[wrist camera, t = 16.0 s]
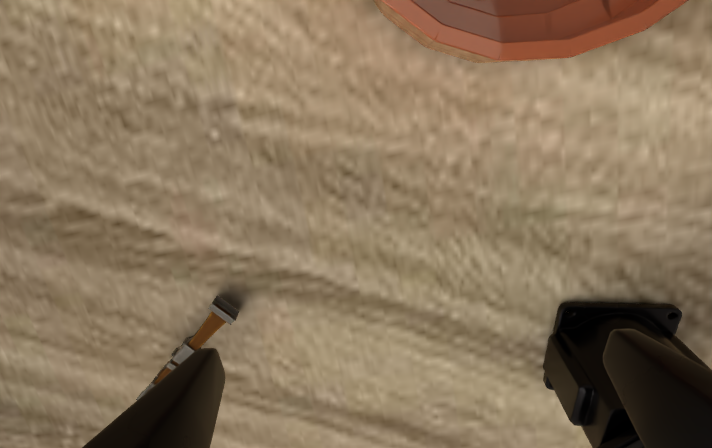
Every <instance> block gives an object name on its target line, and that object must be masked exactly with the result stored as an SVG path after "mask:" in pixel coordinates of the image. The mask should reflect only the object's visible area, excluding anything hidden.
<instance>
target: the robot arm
mask: <svg viewBox="0 0 712 448" xmlns="http://www.w3.org/2000/svg"><path fill="white" fill-rule="evenodd" d="M568 310H571V311H570V312H568V313H566V311H568ZM671 312H672V313H671ZM669 313H671V314H669ZM668 314H669V315H668ZM681 317H682V312H681V310H679V309H678V308H677V307H676V306H674V305H671V304H629V303H579V302H567V303H563V304H561V305H560V306H559V308H558V311H557V316H556V321H555V326H554V330H553V334H552V335H551V336H550V337H549V340H548V345H547V350H546V355H545V360H544V365H543V368H544V370H545V373H544V378H543V381H544V383H545V385H546V387H547V388H548V389H551V390H555V392H556V394H557V396H558V398H559V400H560V402H561V404H562V406H563V408H564V410H565V412H566V414H567V416H568V418H569V420H570V421H571V422H572V423H573V424H574V425H577V426H581V427H582V428H583V430H584V432H585V434H586V436H587V438H588V440H589V442H590V444H591V446H592V447H593V448H712V370H711V369H710V368H709V367H708V366H707V365H706V364H705V363H704V362H703V361H702V360H701V359H699V358H698V357H697V356H696V355H695V354H694V353H693V352H692V351H691V350H690V349H689V348H688V347H687V346H686V345H685V344H684V343H683V342H681V341H680V340H679V339H678V338H677V337H676V336H675V333H676V330H677V328H678V325H679V322H680V320H681ZM224 384H225V371H224V368H223V365H222V362H221V359H220V356H219V353H218V351H217V350H216V349H215V348H203V349H198V350H196V351H195V352H193V353H192V354H191V355H190V356H189V357H187V358H186V359H185V360H184V361H183V362H182V363H180V364H179V365H178V366H177V367H176V368H175V369H173V370H172V371H171V372H170V373H169V374H168V375H166V376H165V377H164V378H163V379H162V380H161V381H159V382H158V383H157V384H156V385H155V386H154V387H152V388H151V389H150V390H149V391H148V392H147V393H145V394H144V395H143V396H142V397H141V398H140V399H138V400H137V401H136V402H135V403H134V404H133V405H131V406H130V407H129V408H128V409H127V410H126V411H124V412H123V413H122V414H121V415H120V416H119V417H117V418H116V419H115V420H114V421H113V422H112V423H110V424H109V425H108V426H107V427H106V428H105V429H103V430H102V431H101V432H100V433H99V434H98V435H96V436H95V437H94V438H93V439H92V440H91V441H89V442H88V443H87V444H86V445H85V446H84V447H82V448H210V444H211V440H212V436H213V432H214V428H215V423H216V419H217V414H218V410H219V406H220V401H221V397H222V393H223V388H224Z"/></svg>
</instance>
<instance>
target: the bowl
mask: <svg viewBox="0 0 712 448" xmlns="http://www.w3.org/2000/svg"><path fill="white" fill-rule="evenodd" d="M373 1H374V3H375V4H376V6H377V7H378V9H379V10H380V12H381V13H383V15H384V16H385V17H386V18H388V19H389V20H390V21H392V22H393V23H394V24H395V25H397V26H398V27H399V28H401V29H402V30H403V31H405V32H406V33H407V34H409V35H410V36H411V37H413V38H414V39H415V40H417V41H418V42H419V43H420V44H422V45H423V46H424V47H427V48H429V49H432V50H435V51H439V52H442V53H445V54H448V55H452V56H455V57H458V58H462V59H465V60H468V61H471V62H475V63H489V62H510V61H531V60H545V59H559V58H569V57H573V56H576V55H579V54H581V53H584V52H587V51H590V50H592V49H595V48H598V47H601V46H603V45H606V44H609V43H612V42H614V41H617V40H620V39H623V38H625V37H628V36H631V35H634V34H636V33H639V32H642V31H644V30H646V29H648V28H649V27H651V26H652V25H654V24H655V23H656V22H658V21H659V20H661V19H662V18H664V17H665V16H667V15H668V14H669V13H671V12H672V11H674V10H675V9H677V8H678V7H680V6H681V5H683V4H684V3H685V2H687V1H688V0H373Z"/></svg>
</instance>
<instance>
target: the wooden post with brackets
mask: <svg viewBox="0 0 712 448" xmlns="http://www.w3.org/2000/svg"><path fill="white" fill-rule="evenodd" d="M209 309H210V310H211V311H212V312H211V313H210V315H209V316H208V318H207V319H206V321H205V322H204V323H203V325H202V326H201V328H200V329H199V331H198V332H197V333H196V334H195V336H194V337H191V338H190V339H188V338H186V340H185V341H184V342H183V345H182V346H181V347H180V348H179V349H178V348H176V350H175V351H174V352H173V354H172V356H173V358H172V359H171V360H170V361H168V363H167V364H166V365H165V366H164V367H163V368H162V369H161V370H160V372H159V373H158V374H157V376H158V377H157V376H156V377H155V378H154V380H153V381H152V382H151V383H150V384H149V386H148V387H147V388H146V389H145V390H144V391H143V392H141V394H140V395H139V396H138V398H137V399H136V400H138V399H140V398H141V397H142V396H143V395H144V394H145V393H147V392H148V391H149V390H150V389H151V388H152V387H154V386H155V385H156V384H157V383H158V382H159V381H161V380H162V379H163V378H164V377H165V376H166V375H168V374H169V373H170V372H171V371H172V370H173V369H175V368H176V367H177V366H178V365H179V364H180V363H182V362H183V361H184V360H185V359H186V358H187V357H189V356H190V355H191V354H192V353H193V352H195V351H196V350H198V349H201V346H202V345H203V344H204V343H205V342H206V341H207V340H208V339H209V338H210V337H211V336H212V335H213V334H214V333H215V332H216V331H217V330H218V329H219V328H220V327H221V326H222V325H224V324H225V323H226V322H228V323H229V324H230V325H231V323H232V322H234V321H235V320H236V318H237V316H238V313H239V311H238V310H237V309H235V308H234V307H233V306H231V305H230V304H229V303H227V302H226V301H225V300H223V299H222V298H221V297H219V296H218V295H217V296H216V298H215V299H214V301H213V302H212V304H211V305H210V307H209Z"/></svg>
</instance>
